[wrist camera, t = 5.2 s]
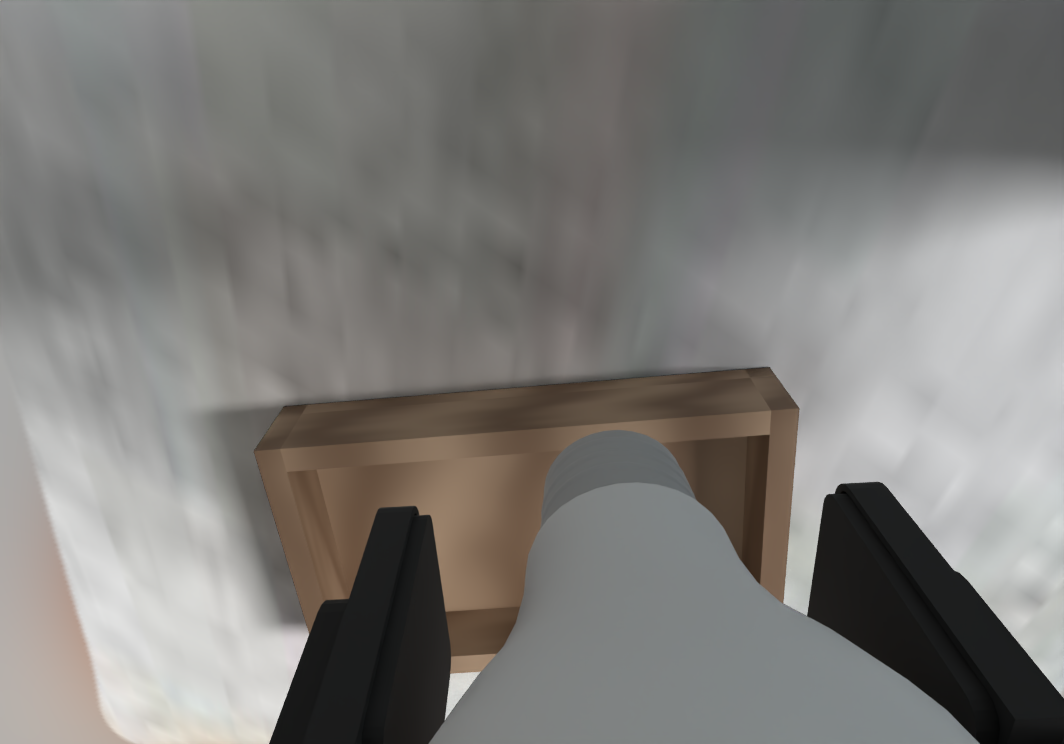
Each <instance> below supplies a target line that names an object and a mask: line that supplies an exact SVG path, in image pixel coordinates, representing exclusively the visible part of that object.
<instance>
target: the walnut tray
mask: <svg viewBox="0 0 1064 744" xmlns="http://www.w3.org/2000/svg"><path fill="white" fill-rule="evenodd" d="M798 418H799V407H798V406H797V404H796V403H795V402H794V400H793V399H792V398H791V396H790V395H789V393H788V392H787V391H786V389H785V388H784V387H783V385H782V384H781V382H780V381H779V380H778V378H777V377H776V376H775V374H774V373H773V371H772V370H771V369H770V367H767V368H754V369H742V370H730V371H717V372H705V373H693V374H680V375H668V376H656V377H643V378H631V379H618V380H606V381H594V382H581V383H569V384H557V385H544V386H532V387H520V388H507V389H495V390H482V391H470V392H458V393H445V394H433V395H421V396H408V397H396V398H384V399H371V400H359V401H346V402H334V403H322V404H309V405H297V406H285V407H283V409H282V410H281V412H280V413H279V415H278V416H277V418H276V419H275V420H274V422H273V423H272V425H271V426H270V428H269V429H268V431H267V432H266V434H265V435H264V437H263V438H262V440H261V441H260V443H259V444H258V446H257V447H256V448H255V450H254V454H255V457H256V461H257V464H258V467H259V470H260V474H261V477H262V480H263V483H264V487H265V490H266V493H267V497H268V500H269V503H270V506H271V510H272V513H273V516H274V520H275V523H276V526H277V529H278V533H279V536H280V539H281V543H282V546H283V549H284V552H285V556H286V559H287V562H288V566H289V569H290V572H291V575H292V579H293V582H294V585H295V589H296V592H297V595H298V598H299V602H300V605H301V608H302V612H303V615H304V618H305V621H306V625H307V628H308V631H309V634H310V631H311V629H312V626H313V623H314V621H315V618H316V615H317V612H318V610H319V608H320V606H321V604H322V603H323V602H324V601H325V600H335V599H349V597H350V594H351V591H352V587H353V584H354V581H355V578H356V575H357V572H358V569H359V566H360V562H361V559H362V556H363V553H364V550H365V547H366V544H367V541H368V537H369V534H370V531H371V528H372V525H373V522H374V519H375V516H376V513H377V511H378V509H379V508H382V507H402V506H416V507H417V508H418V511H419V515H430V516H431V518H432V522H433V529H434V536H435V543H436V550H437V556H438V563H439V570H440V577H441V584H442V591H443V597H444V604H445V611H446V618H447V625H448V632H449V638H450V646H451V671H450V673H465V672H481V671H482V670H483V669H484V668H485V667H486V666H487V665H488V663H489V662H490V661H491V660H492V659H493V658H494V657H495V655H496V654H497V653H498V652H499V651H500V650H501V649H502V647H503V646H504V644H505V643H506V641H507V639H508V637H509V635H510V633H511V631H512V629H513V627H514V625H515V623H516V620H517V617H518V613H519V610H520V606H521V602H522V599H523V595H524V586H525V575H526V567H527V561H528V554H529V552H530V550H531V547H532V545H533V542H534V540H535V538H536V536H537V534H538V532H539V530H540V526H541V521H542V518H541V510H542V504H543V499H544V486H545V480H546V476H547V473H548V471H549V469H550V466H551V465H552V463H553V462H554V460H555V459H556V458H557V456H558V455H559V454H560V453H561V452H562V451H563V450H564V449H565V448H566V447H568V446H569V445H571V444H572V443H574V442H575V441H577V440H578V439H581V438H583V437H585V436H588V435H590V434H593V433H598V432H602V431H609V430H625V431H634V432H637V433H640V434H644V435H647V436H649V437H651V438H653V439H655V440H657V441H658V442H660V443H661V444H662V445H663V446H665V447H666V448H667V449H668V450H669V451H670V452H671V454H672V455H673V456H674V457H675V459H676V461H677V463H678V465H679V467H680V468H681V469H682V471H683V472H684V474H685V477H686V479H687V481H688V483H689V485H690V487H691V489H692V491H693V493H694V496H695V498H696V500H697V501H698V502H699V503H700V504H701V505H703V506H704V507H705V508H706V509H708V510H709V511H710V512H711V513H712V514H713V515H714V516H715V518H716V519H717V520H718V521H719V523H720V524H721V525H722V526H723V528H724V530H725V532H726V534H727V535H728V537H729V539H730V541H731V543H732V545H733V547H734V549H735V551H736V553H737V555H738V557H739V559H740V560H741V561H742V563H743V564H744V565H745V567H746V568H747V569H748V571H749V572H750V573H751V574H752V576H753V577H754V578H755V580H756V581H757V582H758V583H759V584H760V585H761V586H762V587H764V588H765V589H766V590H767V591H768V592H769V593H771V594H772V595H773V596H774V597H775V598H776V599H777V600H779V601H780V602H781V603H783V600H784V588H785V576H786V564H787V552H788V540H789V527H790V515H791V503H792V491H793V479H794V467H795V455H796V443H797V430H798Z"/></svg>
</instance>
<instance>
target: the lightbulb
mask: <svg viewBox="0 0 1064 744" xmlns="http://www.w3.org/2000/svg"><path fill="white" fill-rule="evenodd" d="M541 518H542V521H541V526H540V530H539V532H538V534H537V536H536V538H535V540H534V542H533V545H532V547H531V550H530V552H529V554H528V561H527V567H526V575H525V586H524V595H523V599H522V602H521V606H520V610H519V613H518V617H517V620H516V623H515V625H514V627H513V629H512V631H511V633H510V635H509V637H508V639H507V641H506V643H505V644H504V646H503V647H502V649H501V650H500V651H499V652H498V653H497V654H496V655H495V657H494V658H493V659H492V660H491V661H490V662H489V663H488V665H487V666H486V667H485V668H484V669H483V670H482V671H481V672H480V674H479V675H478V676H477V678H476V679H475V680H474V682H473V683H472V684H471V686H470V687H469V688H468V690H467V691H466V692H465V694H464V695H463V696H462V698H461V699H460V700H459V702H458V703H457V704H456V706H455V707H454V709H453V710H452V711H451V713H450V714H449V716H448V717H447V718H446V720H445V721H444V723H443V724H442V725H441V727H440V728H439V730H438V731H437V732H436V734H435V735H434V737H433V738H432V740H431V741H430V742H429V744H980V743H979V742H978V741H977V740H976V739H975V738H974V737H973V736H972V735H971V734H970V733H969V732H968V731H967V730H966V729H965V728H964V727H963V726H962V725H961V724H960V723H959V722H958V721H957V720H956V719H955V718H954V717H953V716H952V715H951V714H950V713H949V712H948V711H947V710H946V709H945V708H944V707H942V706H941V705H940V704H938V703H937V702H936V701H935V700H933V699H932V698H931V697H929V696H928V695H927V694H926V693H924V692H923V691H922V690H920V689H919V688H918V687H917V686H915V685H914V684H913V683H911V682H910V681H909V680H908V679H906V678H904V677H903V676H901V675H900V674H898V673H897V672H895V671H894V670H892V669H891V668H889V667H888V666H886V665H885V664H883V663H882V662H880V661H879V660H877V659H876V658H874V657H873V656H871V655H870V654H868V653H867V652H865V651H864V650H862V649H861V648H859V647H858V646H856V645H855V644H853V643H852V642H850V641H849V640H847V639H845V638H844V637H842V636H841V635H839V634H838V633H836V632H835V631H833V630H832V629H830V628H828V627H826V626H824V625H823V624H821V623H819V622H817V621H815V620H813V619H811V618H809V617H808V616H806V615H804V614H802V613H800V612H798V611H796V610H794V609H793V608H791V607H789V606H787V605H785V604H783V603H781V602H780V601H779V600H777V599H776V598H775V597H774V596H773V595H772V594H771V593H769V592H768V591H767V590H766V589H765V588H764V587H762V586H761V585H760V584H759V583H758V582H757V581H756V580H755V578H754V577H753V576H752V574H751V573H750V572H749V571H748V569H747V568H746V567H745V565H744V564H743V563H742V561H741V560H740V559H739V557H738V555H737V553H736V551H735V549H734V547H733V545H732V543H731V541H730V539H729V537H728V535H727V534H726V532H725V530H724V528H723V526H722V525H721V524H720V523H719V521H718V520H717V519H716V518H715V516H714V515H713V514H712V513H711V512H710V511H709V510H708V509H706V508H705V507H704V506H703V505H701V504H700V503H699V502H698V501H697V500H696V498H695V496H694V493H693V491H692V489H691V487H690V485H689V483H688V481H687V479H686V477H685V474H684V472H683V471H682V469H681V468H680V467H679V465H678V463H677V461H676V459H675V457H674V456H673V455H672V454H671V452H670V451H669V450H668V449H667V448H666V447H665V446H663V445H662V444H661V443H660V442H658V441H657V440H655V439H653V438H651V437H649V436H647V435H644V434H640V433H637V432H634V431H625V430H609V431H602V432H598V433H593V434H590V435H588V436H585V437H583V438H581V439H578V440H577V441H575V442H574V443H572V444H571V445H569V446H568V447H566V448H565V449H564V450H563V451H562V452H561V453H560V454H559V455H558V456H557V458H556V459H555V460H554V462H553V463H552V465H551V466H550V469H549V471H548V473H547V476H546V480H545V486H544V499H543V504H542V510H541Z"/></svg>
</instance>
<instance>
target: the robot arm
mask: <svg viewBox="0 0 1064 744" xmlns="http://www.w3.org/2000/svg"><path fill="white" fill-rule="evenodd" d="M807 616H808V617H809V618H811V619H813V620H815V621H817V622H819V623H821V624H823V625H824V626H826V627H828V628H830V629H832V630H833V631H835V632H836V633H838V634H839V635H841V636H842V637H844V638H845V639H847V640H849V641H850V642H852V643H853V644H855V645H856V646H858V647H859V648H861V649H862V650H864V651H865V652H867V653H868V654H870V655H871V656H873V657H874V658H876V659H877V660H879V661H880V662H882V663H883V664H885V665H886V666H888V667H889V668H891V669H892V670H894V671H895V672H897V673H898V674H900V675H901V676H903V677H904V678H906V679H908V680H909V681H910V682H911V683H913V684H914V685H915V686H917V687H918V688H919V689H920V690H922V691H923V692H924V693H926V694H927V695H928V696H929V697H931V698H932V699H933V700H935V701H936V702H937V703H938V704H940V705H941V706H942V707H944V708H945V709H946V710H947V711H948V712H949V713H950V714H951V715H952V716H953V717H954V718H955V719H956V720H957V721H958V722H959V723H960V724H961V725H962V726H963V727H964V728H965V729H966V730H967V731H968V732H969V733H970V734H971V735H972V736H973V737H974V738H975V739H976V740H977V741H978V742H979V743H980V744H1064V698H1063V697H1062V696H1061V695H1060V693H1059V692H1058V691H1057V690H1056V688H1055V687H1054V686H1053V685H1052V684H1051V682H1050V681H1049V680H1048V679H1047V677H1046V676H1045V675H1044V674H1043V673H1042V671H1041V670H1040V669H1039V668H1038V666H1037V665H1036V664H1035V663H1034V661H1033V660H1032V659H1031V658H1030V657H1029V655H1028V654H1027V653H1026V652H1025V650H1024V649H1023V648H1022V647H1021V646H1020V644H1019V643H1018V642H1017V641H1016V639H1015V638H1014V637H1013V636H1012V635H1011V633H1010V632H1009V631H1008V630H1007V628H1006V627H1005V626H1004V625H1003V623H1002V622H1001V621H1000V620H999V619H998V617H997V616H996V615H995V614H994V612H993V611H992V610H991V609H990V608H989V606H988V605H987V604H986V603H985V601H984V600H983V599H982V598H981V597H980V595H979V594H978V593H977V592H976V590H975V589H974V588H973V587H972V585H971V584H970V583H969V582H968V581H967V580H966V579H965V578H964V577H963V576H962V575H961V574H960V573H958V572H956V571H954V570H953V569H952V568H951V566H950V565H949V564H948V563H947V562H946V560H945V559H944V558H943V557H942V555H941V554H940V553H939V552H938V550H937V549H936V548H935V547H934V545H933V544H932V543H931V542H930V540H929V539H928V538H927V537H926V535H925V534H924V533H923V532H922V530H921V529H920V528H919V527H918V525H917V524H916V523H915V522H914V521H913V519H912V518H911V517H910V516H909V514H908V513H907V512H906V511H905V509H904V508H903V507H902V506H901V504H900V503H899V502H898V501H897V499H896V498H895V497H894V496H893V494H892V493H891V492H890V491H889V489H888V488H887V487H886V486H885V485H884V484H883V483H880V482H867V483H847V484H840V485H839V486H838V487H837V489H836V492H835V494H828V495H826V497H825V499H824V503H823V510H822V517H821V524H820V531H819V538H818V545H817V552H816V559H815V566H814V573H813V580H812V586H811V593H810V600H809V607H808V614H807ZM450 671H451V646H450V638H449V632H448V625H447V618H446V611H445V604H444V597H443V591H442V584H441V577H440V570H439V563H438V556H437V550H436V543H435V536H434V529H433V522H432V518H431V516H430V515H419V511H418V508H417V507H416V506H402V507H382V508H379V509H378V511H377V513H376V516H375V519H374V522H373V525H372V528H371V531H370V534H369V537H368V541H367V544H366V547H365V550H364V553H363V556H362V559H361V562H360V566H359V569H358V572H357V575H356V578H355V581H354V584H353V587H352V591H351V594H350V597H349V599H335V600H325V601H324V602H323V603H322V604H321V606H320V608H319V610H318V612H317V615H316V618H315V621H314V623H313V626H312V629H311V631H310V634H309V637H308V640H307V642H306V645H305V648H304V650H303V653H302V656H301V659H300V661H299V664H298V667H297V670H296V672H295V675H294V678H293V680H292V683H291V686H290V689H289V691H288V694H287V697H286V699H285V702H284V705H283V708H282V710H281V713H280V716H279V718H278V721H277V724H276V727H275V729H274V732H273V735H272V737H271V740H270V743H269V744H429V742H430V741H431V740H432V738H433V737H434V735H435V734H436V732H437V731H438V730H439V728H440V727H441V725H442V724H443V723H444V721H445V712H446V704H447V696H448V688H449V680H450Z"/></svg>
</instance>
